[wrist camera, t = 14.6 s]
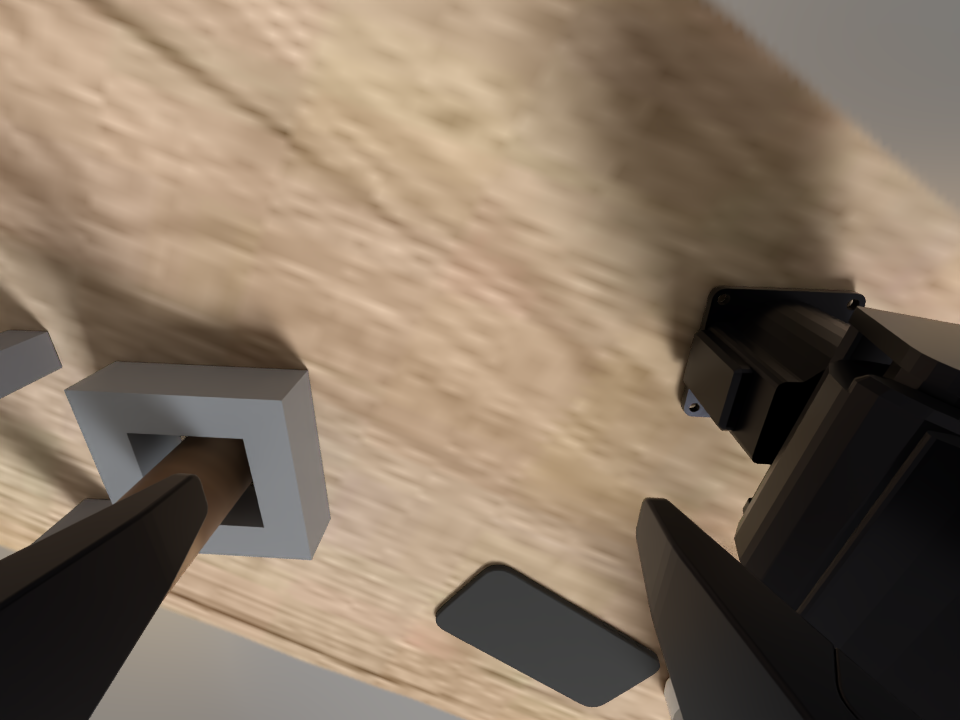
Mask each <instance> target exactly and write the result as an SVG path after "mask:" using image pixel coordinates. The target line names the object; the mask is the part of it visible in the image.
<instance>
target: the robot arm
mask: <svg viewBox="0 0 960 720" xmlns="http://www.w3.org/2000/svg"><path fill="white" fill-rule="evenodd" d="M722 294H726V298H725V299H724V300H723V301H722V302H718V298H719V296H721V295H722ZM851 300H853V303H852V304H851V305H850V306H848V307H847V304H848V302H849V301H851ZM865 303H866V300H865V297H864V296H863V295H862V294H859V293H857V292H854V291H842V290H817V289H792V288H766V287H741V286H718V287H716V288H714V289H713V290H712V291H711V292H710V294H709V296H708V300H707V304H706V308H705V312H704V316H703V320H702V324H701V327H700V330H699V331H698V332H697V333H696V334H695V335H694V338H693V342H692V346H691V350H690V354H689V358H688V362H687V366H686V370H685V374H684V378H683V381H684V383H685V384H686V386H685V390H684V394H683V398H682V402H681V407H682V409H683V411H684V412H685V413H686V414H687V415H688V416H695V417H711V418H712V420H713V421H714V422H715V423H716V425H717V426H718V427H719V428H720V429H721V430H722V431H729V432H730V433H731V434H732V435H733V437H734V438H735V439H736V440H737V442H738V443H739V444H740V445H741V447H742V448H743V449H744V451H745V452H746V453H747V454H748V456H749V457H750V458H751V459H752V461H753V462H754V463H757V464H770V465H771V466H770V468H769V469H768V471H767V473H766V475H765V476H764V478H763V480H762V482H761V483H760V485H759V487H758V489H757V491H756V492H755V494H754V496H753V498H749V499H748V500H747V502H746V504H745V506H744V508H743V516H742V518H741V520H740V522H739V524H738V527H737V530H736V534H735V537H734V540H735V544H736V548H737V552H738V556H739V560H740V562H741V563H740V562H739V561H737V560H736V559H735V558H734V557H733V556H732V555H730V554H729V553H728V552H727V551H726V550H725V549H724V548H722V547H721V546H720V545H719V544H718V543H717V542H716V541H714V540H713V539H712V538H711V537H710V536H709V535H707V534H706V533H705V532H704V531H703V530H702V529H701V528H699V527H698V526H697V525H696V524H695V523H694V522H693V521H691V520H690V519H689V518H688V517H687V516H686V515H685V514H683V513H682V512H681V511H680V510H679V509H678V508H676V507H675V506H674V505H673V504H672V503H671V502H670V501H668V500H667V499H664V498H649V497H648V498H645V499H644V500H643V502H642V506H641V510H640V515H639V519H638V523H637V527H636V540H637V545H638V551H639V556H640V561H641V566H642V571H643V576H644V581H645V586H646V592H647V597H648V602H649V607H650V611H651V616H652V620H653V623H654V627H655V630H656V634H657V637H658V640H659V643H660V646H661V650H662V653H663V656H664V659H665V663H666V666H667V669H668V672H669V676H670V679H671V682H672V685H673V689H674V692H675V695H676V698H677V702H678V705H679V708H680V711H681V714H682V718H683V720H960V325H959V324H953V323H948V322H942V321H937V320H932V319H926V318H921V317H915V316H910V315H904V314H899V313H893V312H888V311H882V310H877V309H872V308H866V307H864V306H865ZM693 403H697V404H696V406H695V407H693V408H689V407H690V405H691V404H693ZM207 513H208V503H207V500H206V496H205V493H204V490H203V486H202V483H201V480H200V478H199V477H198V476H197V475H195V474H183V473H178V474H173V475H171V476H169V477H167V478H165V479H163V480H161V481H159V482H157V483H155V484H153V485H151V486H149V487H147V488H145V489H143V490H141V491H139V492H137V493H135V494H133V495H131V496H129V497H127V498H124V499H122V500H120V501H118V502H116V503H114V504H112V505H110V506H108V507H106V508H104V509H102V510H100V511H98V512H96V513H94V514H92V515H90V516H88V517H86V518H84V519H82V520H80V521H78V522H76V523H74V524H72V525H70V526H68V527H66V528H64V529H62V530H60V531H58V532H56V533H54V534H52V535H50V536H48V537H46V538H44V539H42V540H40V541H38V542H36V543H34V544H32V545H30V546H28V547H26V548H24V549H22V550H20V551H18V552H16V553H14V554H12V555H10V556H8V557H6V558H4V559H2V560H0V720H89V718H90V717H91V715H92V714H93V712H94V710H95V709H96V707H97V706H98V704H99V702H100V701H101V699H102V698H103V696H104V694H105V692H106V691H107V689H108V688H109V686H110V684H111V683H112V681H113V680H114V678H115V677H116V675H117V673H118V671H119V670H120V668H121V667H122V665H123V664H124V662H125V660H126V659H127V657H128V656H129V654H130V653H131V651H132V649H133V648H134V646H135V644H136V643H137V641H138V640H139V638H140V636H141V635H142V633H143V631H144V630H145V628H146V627H147V625H148V624H149V622H150V620H151V619H152V617H153V616H154V614H155V612H156V611H157V609H158V608H159V606H160V604H161V603H162V601H163V599H164V598H165V596H166V594H167V593H168V591H169V589H170V587H171V586H172V584H173V582H174V580H175V578H176V576H177V574H178V572H179V570H180V568H181V566H182V564H183V562H184V560H185V558H186V556H187V554H188V552H189V550H190V548H191V546H192V544H193V542H194V540H195V538H196V536H197V534H198V532H199V530H200V528H201V526H202V524H203V522H204V520H205V518H206V516H207Z"/></svg>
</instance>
